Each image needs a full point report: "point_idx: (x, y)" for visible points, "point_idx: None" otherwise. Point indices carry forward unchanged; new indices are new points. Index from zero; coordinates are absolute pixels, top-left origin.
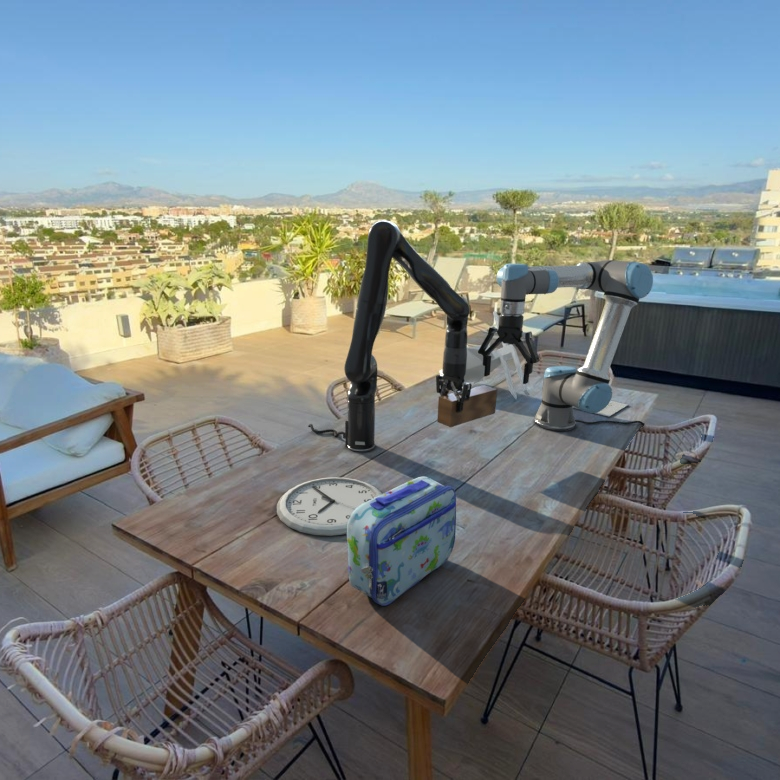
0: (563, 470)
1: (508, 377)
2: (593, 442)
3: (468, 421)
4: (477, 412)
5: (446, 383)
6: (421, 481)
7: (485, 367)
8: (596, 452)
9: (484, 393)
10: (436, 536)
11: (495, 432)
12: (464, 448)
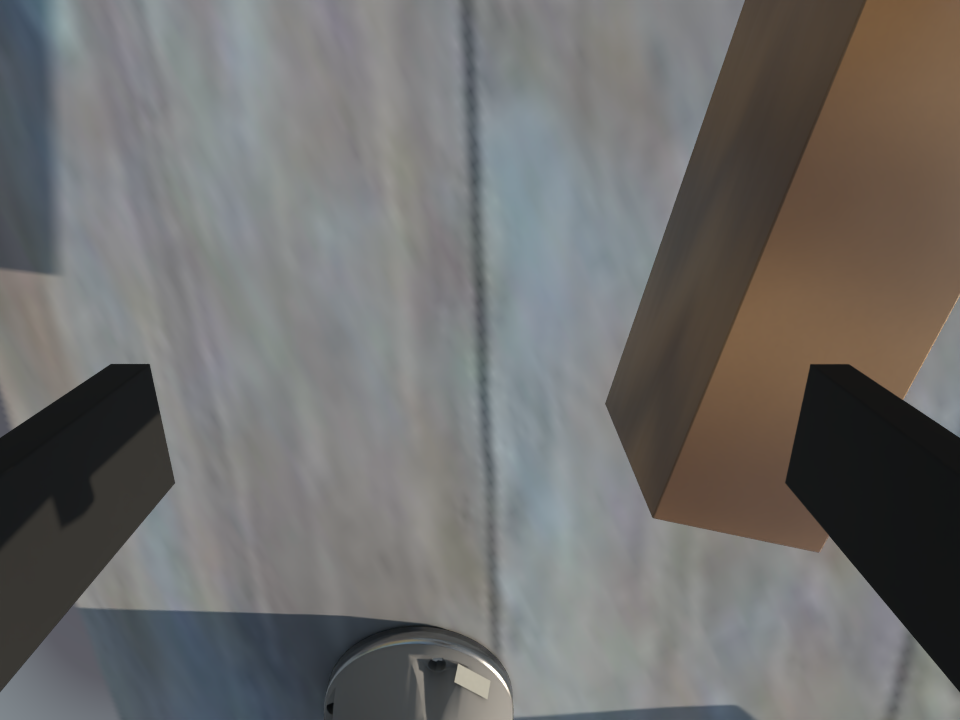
0: (116, 229)
1: None
2: (190, 611)
3: (713, 94)
4: (692, 210)
5: None
6: None
7: (945, 438)
8: None
9: (723, 334)
10: None
11: (614, 458)
12: (674, 147)
